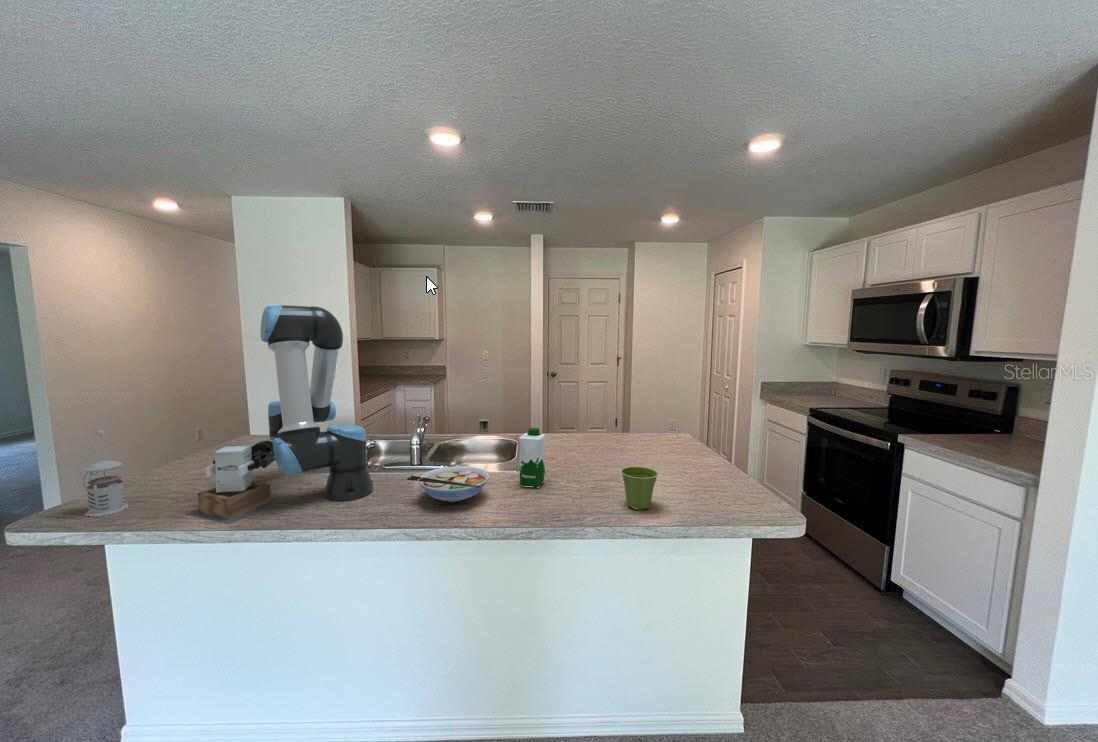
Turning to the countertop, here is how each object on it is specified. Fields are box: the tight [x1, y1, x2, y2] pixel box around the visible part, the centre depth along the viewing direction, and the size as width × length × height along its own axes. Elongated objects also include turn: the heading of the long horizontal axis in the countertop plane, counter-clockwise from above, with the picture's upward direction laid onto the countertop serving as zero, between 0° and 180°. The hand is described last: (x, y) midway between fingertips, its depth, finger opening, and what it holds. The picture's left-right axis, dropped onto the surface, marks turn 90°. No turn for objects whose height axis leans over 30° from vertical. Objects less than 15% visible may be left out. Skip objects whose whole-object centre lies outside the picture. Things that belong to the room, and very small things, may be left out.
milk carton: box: [518, 427, 546, 487], centre depth 155 cm, size 9×9×20 cm
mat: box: [185, 498, 284, 525], centre depth 133 cm, size 19×17×1 cm
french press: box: [82, 429, 130, 517], centre depth 131 cm, size 10×12×25 cm
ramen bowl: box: [406, 465, 490, 503], centre depth 143 cm, size 25×23×8 cm
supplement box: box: [214, 445, 253, 493], centre depth 132 cm, size 7×7×13 cm
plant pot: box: [620, 465, 659, 510], centre depth 137 cm, size 12×12×11 cm
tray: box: [197, 480, 272, 520], centre depth 133 cm, size 13×13×6 cm
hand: (223, 472), depth 127 cm, fingers closed on supplement box, 8 cm apart
